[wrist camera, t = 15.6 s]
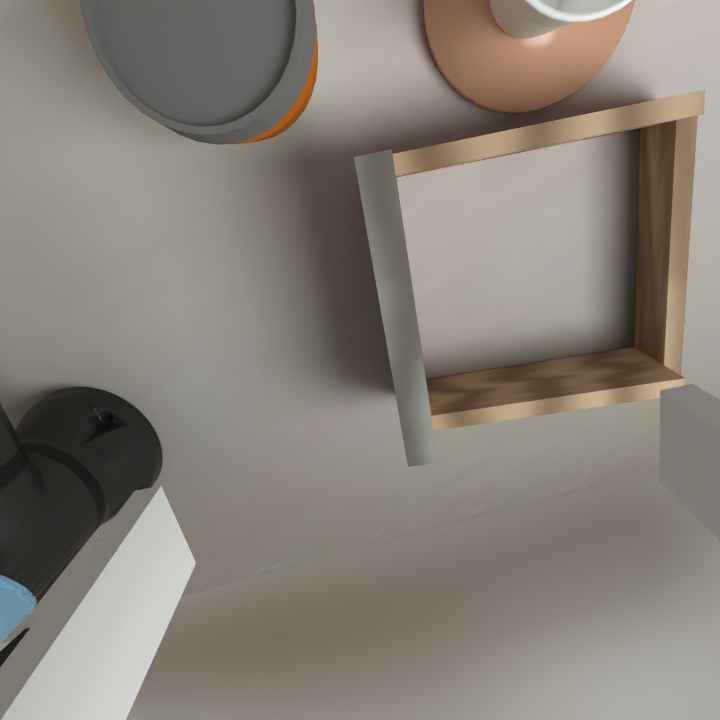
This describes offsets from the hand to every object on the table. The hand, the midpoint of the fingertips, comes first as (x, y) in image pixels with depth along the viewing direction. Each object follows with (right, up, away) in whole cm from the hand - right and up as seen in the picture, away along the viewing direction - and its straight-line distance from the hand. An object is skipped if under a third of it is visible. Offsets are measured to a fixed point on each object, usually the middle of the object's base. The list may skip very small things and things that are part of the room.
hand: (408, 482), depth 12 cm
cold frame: (+14, +12, +31) cm, 36 cm away
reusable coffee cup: (-10, +27, +26) cm, 39 cm away
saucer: (+12, +32, +24) cm, 41 cm away
